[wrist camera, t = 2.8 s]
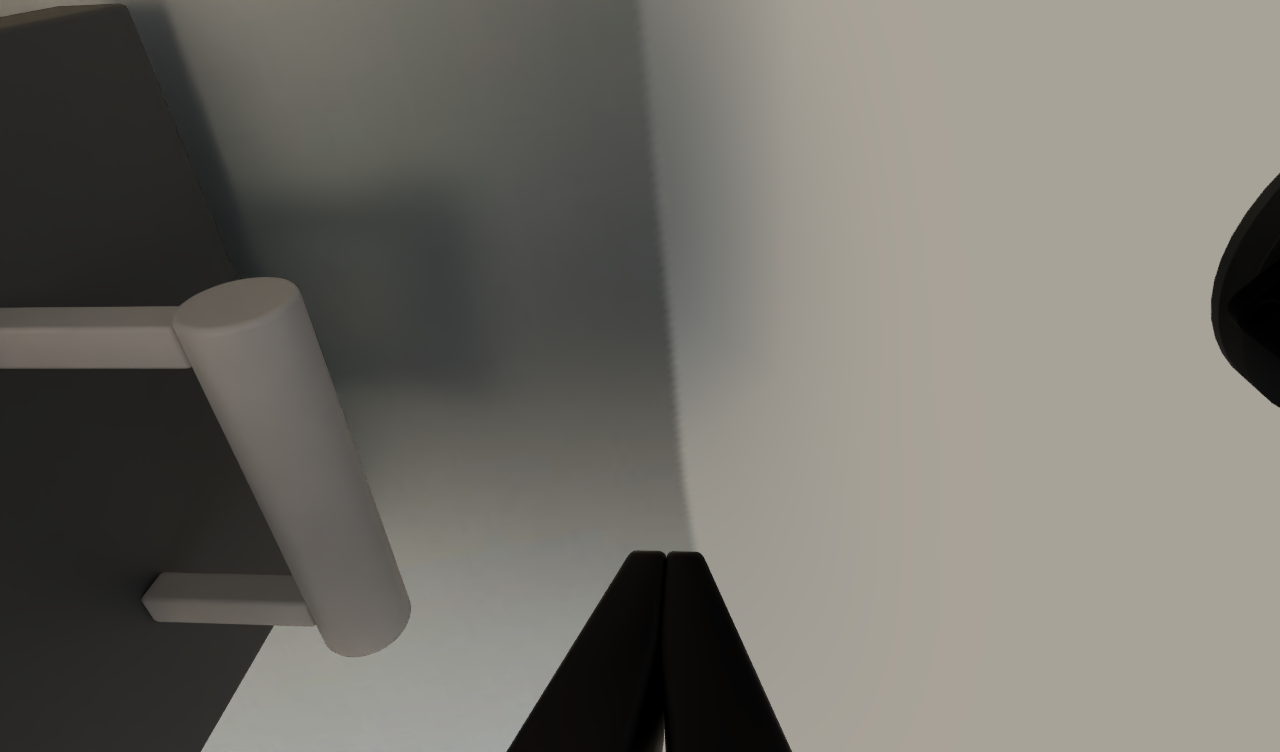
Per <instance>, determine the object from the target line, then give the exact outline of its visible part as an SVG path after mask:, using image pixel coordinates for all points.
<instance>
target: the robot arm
mask: <svg viewBox="0 0 1280 752" xmlns="http://www.w3.org/2000/svg"><path fill="white" fill-rule="evenodd" d="M1265 302H1266V304H1265V305H1264V306H1263V307H1262V309H1260V310H1259V311H1257V312H1255V313H1252V312H1253V310H1254V309H1255V308H1256V307H1257V306H1259V305H1261V304H1263V303H1265ZM1226 315H1227V316H1228V318H1229V319H1230V320H1231V321H1232V322H1233V323H1234V324H1236V325H1237V326H1238V327H1239V328H1240V329H1242V330H1243V331H1244V332H1245V333H1247V334H1248V335H1249V336H1251V337H1252V338H1253V339H1254V340H1256V341H1257V342H1258V343H1260V344H1261V345H1262V346H1263V347H1265V348H1266V349H1267V350H1269V351H1270V352H1271V353H1273V354H1274V355H1275V356H1276V357H1278V358H1279V359H1280V259H1279V260H1278V261H1277V262H1275V263H1274V264H1273V265H1271V266H1270V267H1269V268H1267V269H1266V270H1265V271H1264V272H1262V273H1261V274H1260V275H1258V276H1257V277H1256V278H1254V279H1253V280H1252V281H1251V282H1249V283H1248V284H1247V285H1245V286H1244V287H1243V288H1241V289H1240V290H1239V291H1238V292H1237V293H1236V294H1235V295H1234V296H1233V297H1232V298H1231V299H1230V300H1229V303H1228V305H1227V307H1226ZM664 729H665V746H666V752H792V751H791V749H790V746H789V744H788V742H787V740H786V738H785V735H784V733H783V731H782V729H781V727H780V724H779V722H778V720H777V718H776V715H775V713H774V711H773V709H772V707H771V704H770V702H769V700H768V698H767V696H766V693H765V691H764V689H763V687H762V685H761V682H760V680H759V678H758V676H757V673H756V671H755V669H754V667H753V665H752V662H751V660H750V658H749V656H748V654H747V651H746V649H745V647H744V645H743V643H742V640H741V638H740V636H739V634H738V631H737V629H736V627H735V625H734V623H733V620H732V618H731V616H730V614H729V612H728V609H727V607H726V605H725V603H724V601H723V598H722V596H721V594H720V592H719V590H718V587H717V585H716V583H715V581H714V579H713V576H712V574H711V572H710V570H709V567H708V565H707V563H706V561H705V559H704V557H703V556H702V554H700V553H699V552H681V551H672V552H670V553H668V555H667V558H666V555H665V554H664V553H663V552H661V551H639V550H637V551H633V552H631V553H630V554H629V555H628V557H627V558H626V560H625V561H624V563H623V565H622V566H621V568H620V569H619V571H618V573H617V574H616V576H615V578H614V579H613V581H612V582H611V584H610V586H609V587H608V589H607V590H606V592H605V594H604V595H603V597H602V599H601V600H600V602H599V603H598V605H597V607H596V608H595V610H594V611H593V613H592V615H591V616H590V618H589V619H588V621H587V623H586V624H585V626H584V628H583V629H582V631H581V632H580V634H579V636H578V637H577V639H576V640H575V642H574V644H573V645H572V647H571V649H570V650H569V652H568V653H567V655H566V657H565V658H564V660H563V661H562V663H561V665H560V666H559V668H558V670H557V671H556V673H555V674H554V676H553V678H552V679H551V681H550V682H549V684H548V686H547V687H546V689H545V691H544V692H543V694H542V695H541V697H540V699H539V700H538V702H537V703H536V705H535V707H534V708H533V710H532V712H531V713H530V715H529V716H528V718H527V720H526V721H525V723H524V724H523V726H522V728H521V729H520V731H519V732H518V734H517V736H516V737H515V739H514V741H513V742H512V744H511V745H510V747H509V749H508V750H507V752H662V751H663V742H664Z"/></svg>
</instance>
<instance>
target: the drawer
mask: <svg viewBox="0 0 1280 752" xmlns="http://www.w3.org/2000/svg"><path fill="white" fill-rule="evenodd" d="M410 612H411V604H410V600H409V597H408V594H407V591H406V589H405V586H404V583H403V580H402V577H401V574H400V572H399V569H398V566H397V563H396V560H395V558H394V555H393V552H392V549H391V546H390V543H389V541H388V538H387V535H386V532H385V529H384V526H383V524H382V521H381V518H380V515H379V512H378V510H377V507H376V504H375V501H374V498H373V495H372V493H371V490H370V487H369V484H368V481H367V478H366V476H365V473H364V470H363V467H362V464H361V462H360V459H359V456H358V453H357V450H356V447H355V445H354V442H353V439H352V436H351V433H350V431H349V428H348V425H347V422H346V419H345V416H344V414H343V411H342V408H341V405H340V402H339V399H338V397H337V394H336V391H335V388H334V385H333V383H332V380H331V377H330V374H329V371H328V368H327V366H326V363H325V360H324V357H323V354H322V351H321V349H320V346H319V343H318V340H317V337H316V335H315V332H314V329H313V326H312V323H311V320H310V318H309V315H308V312H307V309H306V306H305V303H304V301H303V298H302V295H301V292H300V290H299V289H298V288H297V287H296V286H295V285H294V284H293V283H292V282H290V281H288V280H286V279H282V278H276V277H256V278H247V279H241V280H238V279H237V277H236V274H235V272H234V269H233V267H232V264H231V262H230V259H229V257H228V254H227V252H226V250H225V247H224V245H223V242H222V240H221V237H220V235H219V232H218V230H217V227H216V225H215V222H214V220H213V217H212V215H211V213H210V210H209V208H208V205H207V203H206V200H205V198H204V195H203V193H202V190H201V188H200V185H199V183H198V180H197V178H196V176H195V173H194V171H193V168H192V166H191V163H190V161H189V158H188V156H187V153H186V151H185V148H184V146H183V143H182V141H181V138H180V136H179V134H178V131H177V129H176V126H175V124H174V121H173V119H172V116H171V114H170V111H169V109H168V106H167V104H166V101H165V99H164V97H163V94H162V92H161V89H160V87H159V84H158V82H157V79H156V77H155V74H154V72H153V69H152V67H151V64H150V62H149V60H148V57H147V55H146V52H145V50H144V47H143V45H142V42H141V40H140V37H139V35H138V32H137V30H136V27H135V25H134V23H133V20H132V18H131V15H130V13H129V10H128V8H127V7H126V5H123V4H100V5H79V6H58V7H53V8H47V9H42V10H37V11H31V12H26V13H20V14H15V15H9V16H4V17H0V752H201V750H202V748H203V747H204V745H205V743H206V742H207V740H208V738H209V736H210V735H211V733H212V731H213V729H214V728H215V726H216V724H217V723H218V721H219V719H220V717H221V716H222V714H223V712H224V711H225V709H226V707H227V705H228V704H229V702H230V700H231V698H232V697H233V695H234V693H235V692H236V690H237V688H238V686H239V685H240V683H241V681H242V679H243V678H244V676H245V674H246V673H247V671H248V669H249V667H250V666H251V664H252V662H253V661H254V659H255V657H256V655H257V654H258V652H259V650H260V648H261V647H262V645H263V643H264V642H265V640H266V638H267V636H268V635H269V633H270V631H271V630H272V628H273V626H274V625H280V626H315V625H317V627H318V629H319V631H320V633H321V636H322V638H323V640H324V642H325V644H326V645H327V647H328V648H329V649H330V650H332V651H333V652H335V653H337V654H340V655H342V656H346V657H361V656H366V655H370V654H373V653H375V652H378V651H380V650H382V649H383V648H385V647H387V646H388V645H390V644H391V643H392V642H393V641H394V640H396V639H397V638H398V636H399V635H400V634H401V633H402V632H403V630H404V629H405V627H406V625H407V623H408V620H409V617H410Z"/></svg>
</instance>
